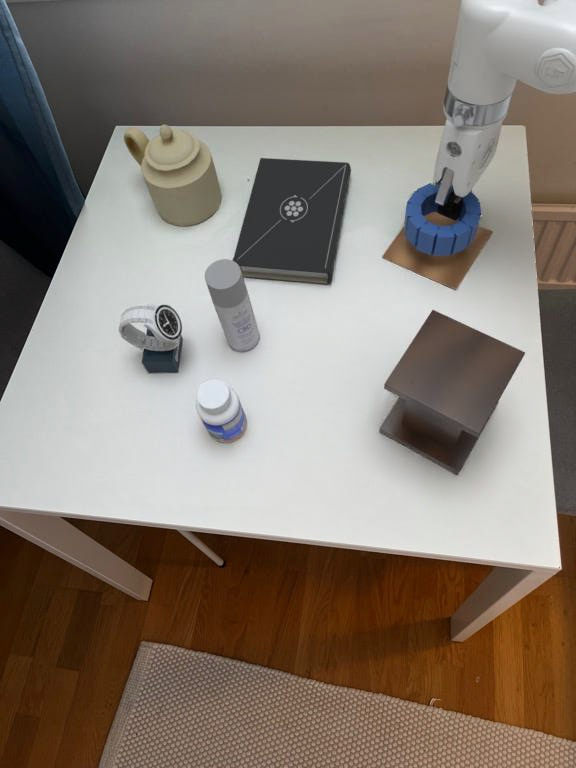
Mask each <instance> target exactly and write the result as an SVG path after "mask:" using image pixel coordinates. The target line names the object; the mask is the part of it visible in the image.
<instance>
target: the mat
mask: <svg viewBox="0 0 576 768" xmlns="http://www.w3.org/2000/svg"><path fill="white" fill-rule="evenodd" d="M424 217H425V218H426V220H427V221H428V222H431V223H433V224H436V225H438V226H451V225H454V224H456V223H458V222H459V221H458V220H452V219H450V218H448V217H445V216H443V215H440V214H438V213H437V212H432V213H430V214H428V215H426V216H424ZM493 233H494V231H493V230H491V229H489V228H486V227H483V226H481V225H480V224H479V225H478V228H477V231H476V235H475V237H474V239H473V240H472V242H471V243H470V245H469V246H468V247H466V249H464V250H462V251H460V252H458V253H456V254H454V255H452V254H451V253H450V256H434V255H433V253H432V254H431V255H429V254H426V253H424V252H422V251H419V250H417V249H416V248H417V247H413V246H412V244H411V243H410V242H409V241H408V239H407V238H406V235H405V229H404V226H402V228H401V229H400V231H399V232H398V233H397V235H396V237H395V238H394V239H393V240H392V242H391V243H390V245H389V246H388V247H387V249H386V250H385V251H384V253H383V255H382V257H381V258H382V259H384V260H386V261H387V262H391V263H393V264H395V265H398V266H400V267H402V268H404V269H406V270H409V271H411V272H413V273H415V274H418V275H420V276H422V277H425V278H427V279H429V280H431V281H433V282H436V283H438V284H440V285H443V286H445V287H447V288H449V289H452V290H454V291H457V289H458V288H459V286H460V285H461V284H462V282H463V280H464V278H465V277H466V276H467V274H468V272H469V271H470V269H471V268H472V266H473V265H474V263H475V261H476V260H477V258H478V257H479V255H480V254H481V252H482V251H483V249H484V247H485V246H486V245H487V243H488V241H489V240H490V238H491V236H492V235H493Z"/></svg>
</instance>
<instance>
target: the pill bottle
mask: <svg viewBox="0 0 576 768" xmlns="http://www.w3.org/2000/svg"><path fill="white" fill-rule="evenodd" d="M195 410H196V413H197V415H198V417H199V419H200V420H201V422H202V424H203V425H204V427H205V429H206V431H207V432H208V434H209V435H210V437H211V438H212V439H214V440H215V441H216V442H220V443H232V442H234V441H236V440H238V439H240V438H241V437H242V436H243V435H244V434H245V431H246V430H247V427H248V426H247V425H248V419H247V416H246V414H245V411H244V408H243V405H242V402H241V400H240V398H239V395H238V393H237V391H236V390H235V389H234V388H233V387H231V386H230V385H228V384H227V383H226V382H225V381H223V380H221V379H219V378H211V379H207V380H205V381H204V382H203V383H201V384H200V385H199V386H198V387H197V390H196V401H195Z"/></svg>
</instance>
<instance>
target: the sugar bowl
mask: <svg viewBox="0 0 576 768" xmlns="http://www.w3.org/2000/svg"><path fill="white" fill-rule="evenodd" d="M123 141H124V144H125V146H126V148H127V150H128V152H129V154H130V155H131V156H132V158H133V159H134V160H135V161H136V163H137V164H138V165H139V166H140V172H141V175H142V177H143V180H144V182H145V185H146V188H147V190H148V192H149V195H150V197H151V199H152V202H153V203H154V206H155V208H156V210H157V212H158V214H159V216H160V217H161V218H162V220H164V221H165V222H167V223H169V224H170V225H174V226H178V227H190V226H196V225H198V224H201V223H203V222H205V221H207V220H208V219H210V217H212V216H213V215H215V214H216V212H217V211H218V210H219V208H220V206H221V203H222V191H221V186H220V182H219V178H218V174H217V169H216V166H215V163H214V159H213V155H212V152H211V150H210V148H209V147H208V145H207V144H206V143H205V142H203V141H202V140H201V139H198V137H197V136H196V135H195V134H194V133H192V132H190V131H187V130H183V129H172V128H171V127H170V126H169V125H167V124H161V126H160V127H159V134H157V135H156V136H155V137H153V138H151V140H150V139H149V138H148V136H147V135H146V134H145V132H143V131H142V130H141V129H140V128H138V127H136V126H131V127H128V128H127V129H126V130H125V132H124V134H123Z"/></svg>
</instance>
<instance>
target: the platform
mask: <svg viewBox="0 0 576 768" xmlns="http://www.w3.org/2000/svg"><path fill="white" fill-rule="evenodd" d="M525 354H526V351H523V350H521V349H519V348H517V347H514V346H512V345H510V344H508V343H506V342H504V341H501V340H499V339H497V338H495V337H493V336H491V335H488V334H486V333H484V332H482V331H480V330H478V329H476V328H474V327H471V326H469V325H467V324H465V323H463V322H461V321H458V320H457V319H454V318H452V317H451V316H448V315H446V314H443V313H441V312H440V311H437V310H434V309H432V310H431V311H430V313H429V314H428V316H427V317H426V319H425V320H424V322H423V324H422V325H421V326H420V328H419V329H418V332H417V333H416V334H415V335H414V338H413V339H412V341H411V342H410V344H409V345H408V347H407V348H406V350H405V351H404V353H403V354H402V356H401V358H400V359H399V361H398V362H397V364H396V365H395V367H394V368H393V370H392V371H391V373H390V375H389V376H388V378H387V379H386V380H385V382H384V385H383V389H384V390H386V391H387V392H390V393H391V394H392V395H393V394H394V395H395V396H397V397H398V398H397V400H396V401H395V403H394V404H393V406H392V408H391V409H390V411H389V412H388V414H387V416H386V418H385V419H384V421H383V422H382V423H381V425H380V427H379V433H380V434H382V435H384V436H386V437H388V438H389V439H391V440H393V441H395V442H396V443H399V444H400V445H402V446H404V447H405V448H407V449H409V450H411V451H413V452H415V453H416V454H418V455H420V456H422V457H424V458H425V459H427V460H429V461H431V462H433V463H435V464H436V465H438V466H440V467H441V468H444V469H445V470H447V471H448V472H451V473H452V474H454V475H456V476H458V475H459V474H460V472H461V471H462V469H463V467H464V465H465V463H466V462H467V460H468V458H469V456H470V455H471V453H472V451H473V449H474V447H475V446H476V444H477V442H478V440H479V438H480V437H481V435H482V433H483V431H484V430H485V428H486V426H487V424H488V422H489V421H490V419H491V417H492V415H493V413H494V412H495V410H496V408H497V406H498V404H499V401H500V399H501V398H502V396H503V394H504V393H505V391H506V389H507V387H508V386H509V383H510V381H511V380H512V379H513V376H514V374H515V373H516V371H517V369H518V367H519V366H520V364H521V362H522V360H523V358H524V356H526V355H525Z"/></svg>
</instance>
